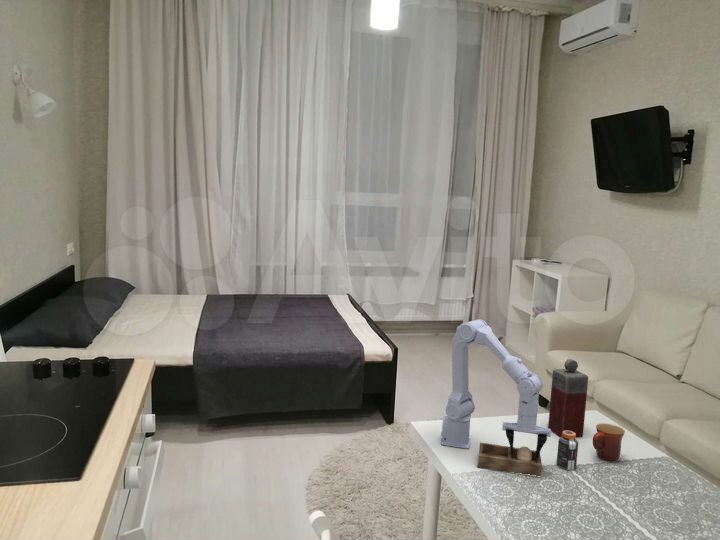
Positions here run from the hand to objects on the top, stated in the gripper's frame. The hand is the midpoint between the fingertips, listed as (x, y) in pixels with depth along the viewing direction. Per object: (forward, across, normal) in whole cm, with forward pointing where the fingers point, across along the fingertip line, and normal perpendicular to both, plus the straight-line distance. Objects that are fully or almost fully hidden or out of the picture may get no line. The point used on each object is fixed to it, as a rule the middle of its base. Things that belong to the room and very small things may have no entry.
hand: (524, 454), depth 167 cm
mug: (+5, -26, -16) cm, 31 cm away
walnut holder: (+4, +4, 0) cm, 6 cm away
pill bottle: (+5, -14, -6) cm, 15 cm away
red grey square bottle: (+5, -16, -35) cm, 39 cm away
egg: (+3, 0, 0) cm, 3 cm away
